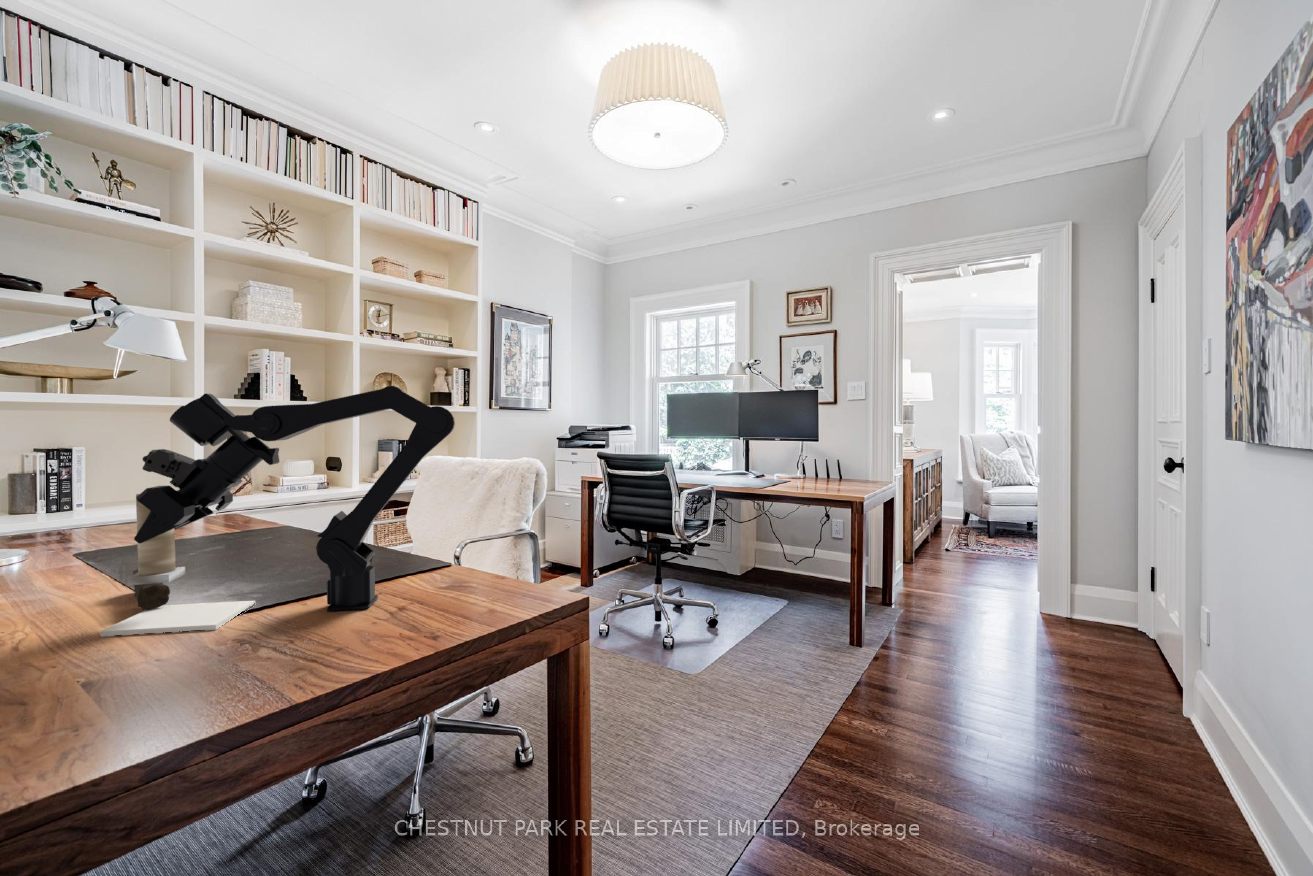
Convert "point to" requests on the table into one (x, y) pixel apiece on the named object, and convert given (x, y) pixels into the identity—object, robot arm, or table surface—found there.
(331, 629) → the table surface
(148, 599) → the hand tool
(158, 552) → the beige pillar on pedestal
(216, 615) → the mat
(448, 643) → the table surface
